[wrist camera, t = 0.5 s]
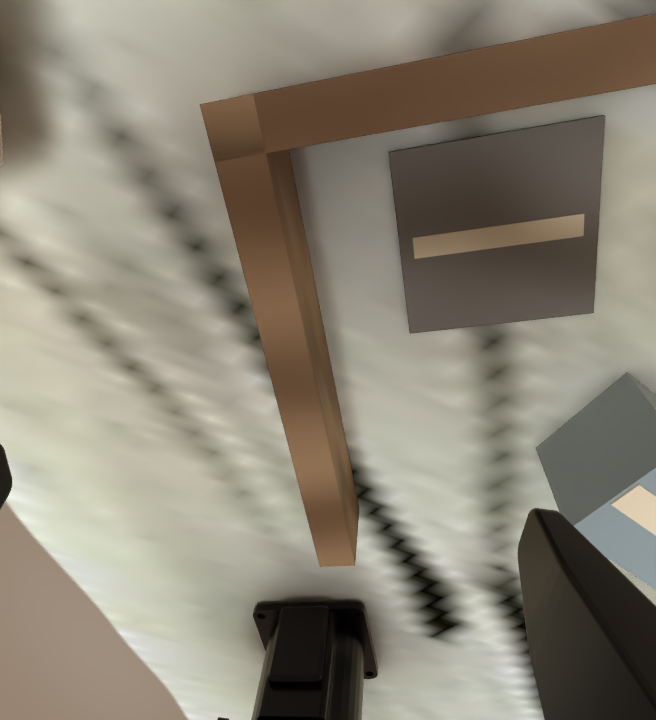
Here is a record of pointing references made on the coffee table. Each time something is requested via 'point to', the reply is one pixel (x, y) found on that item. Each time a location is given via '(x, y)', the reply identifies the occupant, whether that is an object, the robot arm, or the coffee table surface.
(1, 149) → the die
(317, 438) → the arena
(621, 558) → the cube
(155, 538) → the coffee table surface
